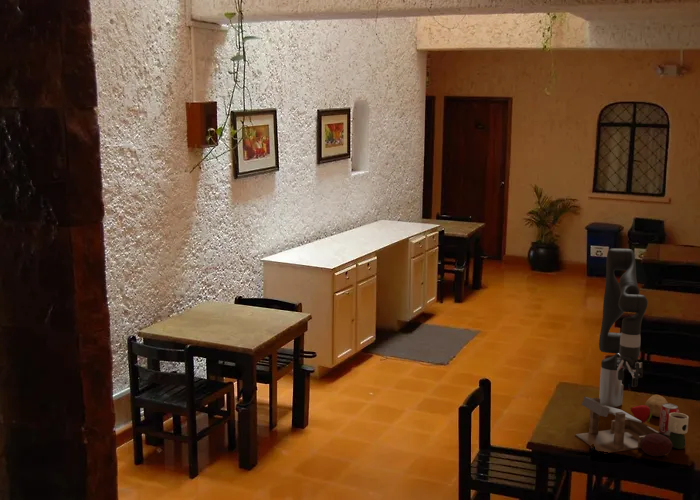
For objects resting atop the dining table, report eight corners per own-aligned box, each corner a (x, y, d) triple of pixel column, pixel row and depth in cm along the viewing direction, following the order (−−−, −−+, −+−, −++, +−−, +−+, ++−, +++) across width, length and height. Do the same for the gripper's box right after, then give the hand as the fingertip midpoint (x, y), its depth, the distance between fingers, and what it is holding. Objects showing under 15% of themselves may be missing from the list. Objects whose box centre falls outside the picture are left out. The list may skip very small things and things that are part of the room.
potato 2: (669, 451, 294) (671, 430, 292) (673, 463, 283) (675, 442, 282) (638, 447, 297) (639, 427, 295) (641, 459, 286) (642, 438, 285)
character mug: (682, 454, 291) (684, 422, 289) (662, 449, 295) (665, 417, 293) (689, 444, 299) (692, 413, 297) (670, 440, 304) (673, 409, 302)
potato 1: (643, 419, 326) (644, 401, 324) (645, 408, 338) (646, 391, 337) (668, 423, 322) (669, 405, 320) (669, 411, 334) (670, 394, 333)
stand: (629, 428, 315) (631, 393, 313) (658, 445, 298) (661, 409, 296) (575, 435, 308) (577, 400, 305) (602, 453, 291) (604, 416, 288)
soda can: (654, 431, 312) (656, 403, 311) (668, 429, 315) (670, 401, 313) (667, 438, 306) (669, 409, 304) (681, 435, 308) (683, 407, 306)
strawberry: (635, 398, 313) (659, 408, 308) (630, 413, 316) (654, 424, 311) (631, 403, 309) (655, 413, 304) (626, 418, 311) (650, 429, 306)
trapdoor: (619, 414, 310) (622, 406, 309) (640, 426, 297) (643, 418, 297) (580, 404, 303) (583, 396, 303) (600, 415, 291) (603, 407, 291)
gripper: (650, 348, 292) (647, 388, 295) (626, 338, 305) (623, 376, 308) (633, 349, 290) (631, 390, 292) (610, 339, 303) (608, 378, 306)
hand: (627, 383), depth 300 cm, fingers open, 8 cm apart
